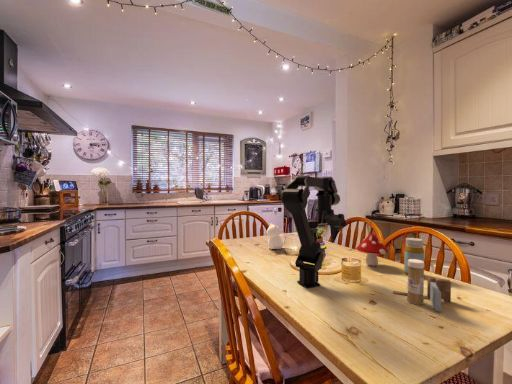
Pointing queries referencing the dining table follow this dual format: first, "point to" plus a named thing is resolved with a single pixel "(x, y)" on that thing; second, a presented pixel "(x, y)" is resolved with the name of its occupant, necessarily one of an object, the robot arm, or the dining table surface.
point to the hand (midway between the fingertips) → (324, 243)
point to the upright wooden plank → (442, 285)
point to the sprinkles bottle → (415, 281)
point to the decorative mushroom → (372, 249)
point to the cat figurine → (275, 237)
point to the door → (435, 296)
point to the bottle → (413, 251)
